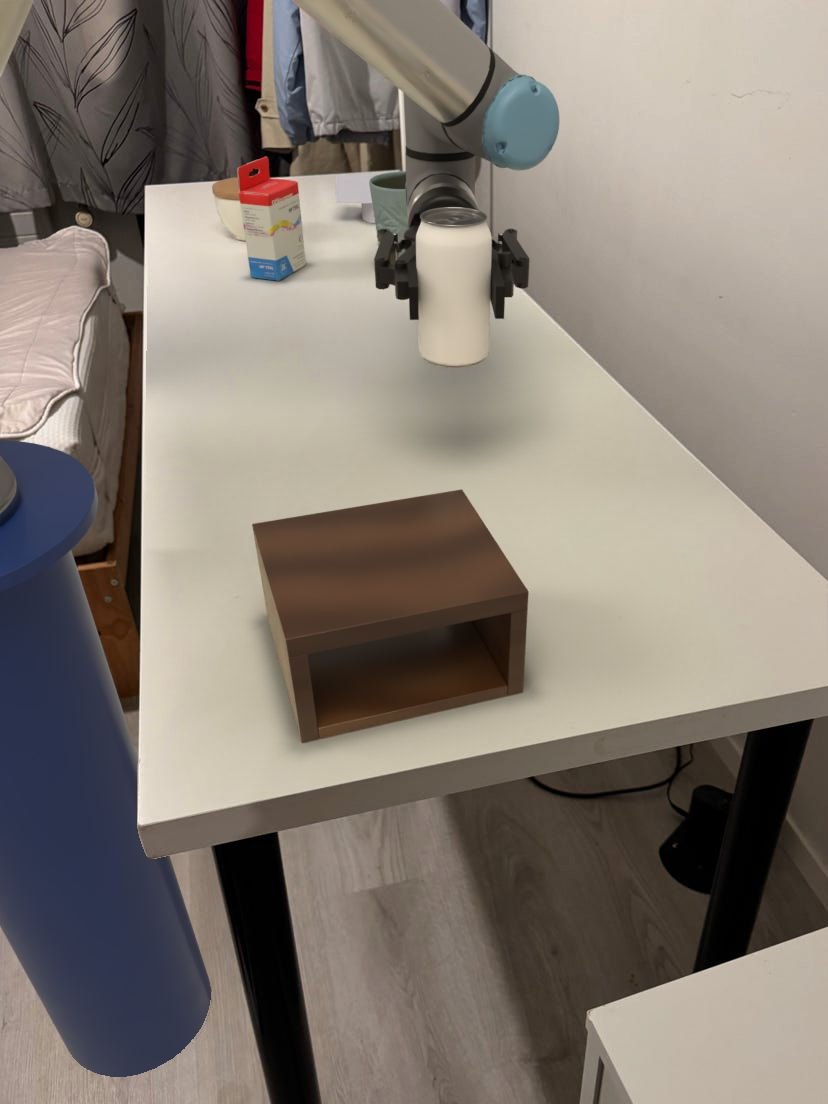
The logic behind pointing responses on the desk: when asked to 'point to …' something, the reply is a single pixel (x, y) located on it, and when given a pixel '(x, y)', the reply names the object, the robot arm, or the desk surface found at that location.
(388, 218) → the green embossed cup
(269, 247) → the ink box
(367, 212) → the wedge on round base
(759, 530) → the desk surface
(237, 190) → the trinket box
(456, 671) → the shelf
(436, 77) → the robot arm
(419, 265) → the can
